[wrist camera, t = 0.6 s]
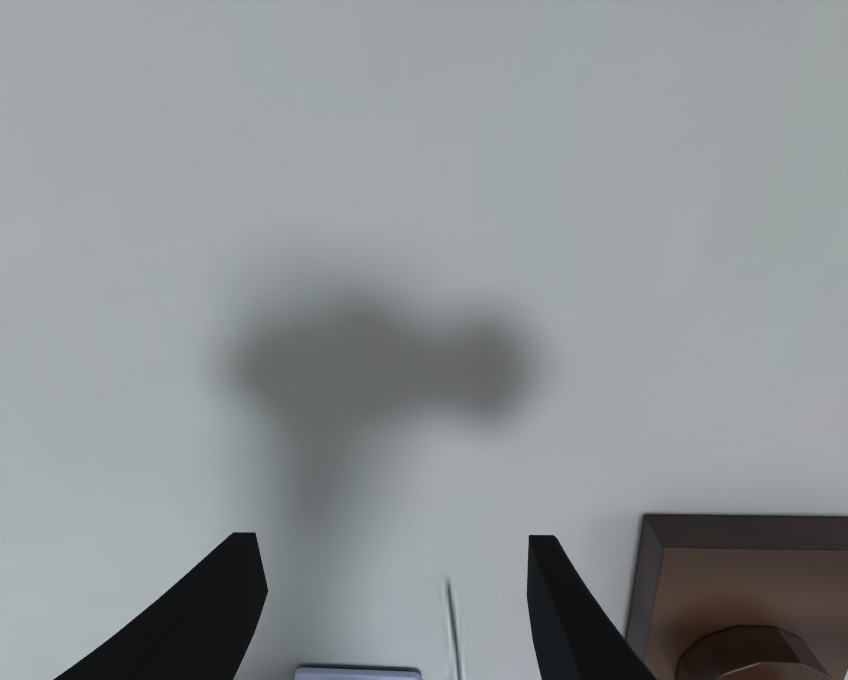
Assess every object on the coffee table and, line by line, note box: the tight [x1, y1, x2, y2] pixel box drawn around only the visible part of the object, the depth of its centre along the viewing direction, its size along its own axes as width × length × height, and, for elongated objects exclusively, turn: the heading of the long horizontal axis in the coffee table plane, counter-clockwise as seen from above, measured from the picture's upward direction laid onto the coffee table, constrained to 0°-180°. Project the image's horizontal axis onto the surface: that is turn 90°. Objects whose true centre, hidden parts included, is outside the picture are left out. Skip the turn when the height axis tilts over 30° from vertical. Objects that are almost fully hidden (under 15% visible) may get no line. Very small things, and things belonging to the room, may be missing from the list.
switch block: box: [626, 515, 848, 680], centre depth 22 cm, size 12×10×4 cm
